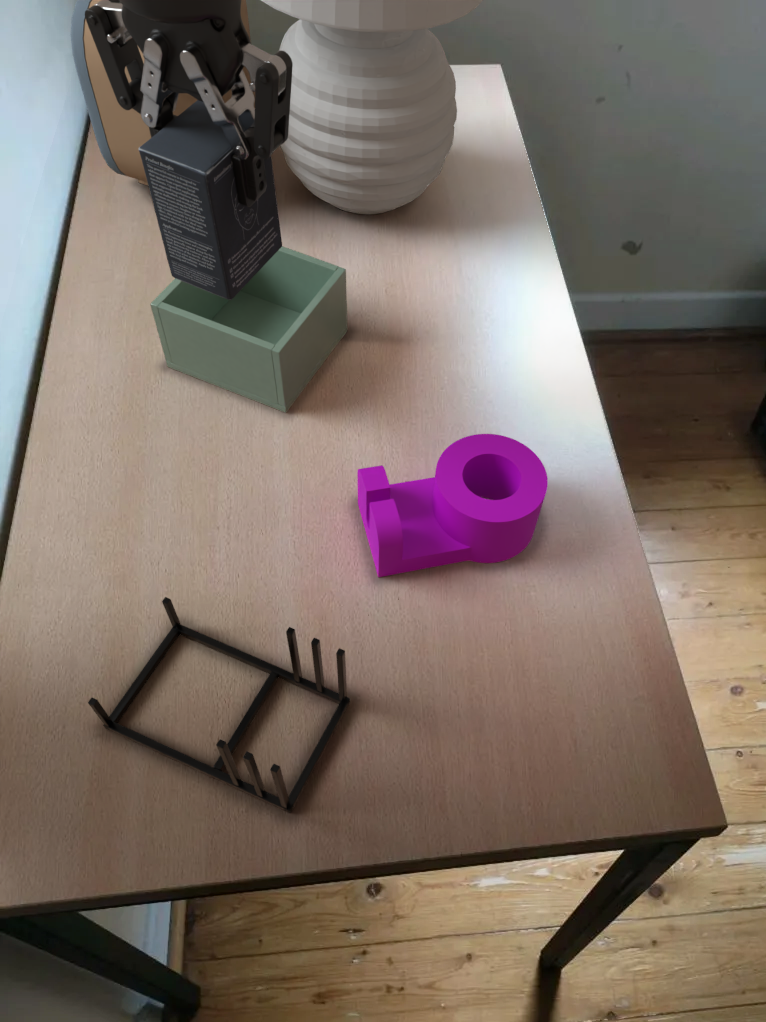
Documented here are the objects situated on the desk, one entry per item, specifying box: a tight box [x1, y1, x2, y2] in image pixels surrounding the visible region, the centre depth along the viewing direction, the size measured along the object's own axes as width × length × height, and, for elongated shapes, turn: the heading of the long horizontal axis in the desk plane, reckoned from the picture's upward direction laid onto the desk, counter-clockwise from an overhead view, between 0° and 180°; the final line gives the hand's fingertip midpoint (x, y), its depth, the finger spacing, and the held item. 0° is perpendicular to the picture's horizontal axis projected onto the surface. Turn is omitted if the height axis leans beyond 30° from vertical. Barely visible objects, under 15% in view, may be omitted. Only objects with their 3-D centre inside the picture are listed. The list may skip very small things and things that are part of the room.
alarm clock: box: [70, 0, 255, 186], centre depth 90 cm, size 21×10×22 cm, turn 162°
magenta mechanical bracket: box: [357, 433, 549, 578], centre depth 72 cm, size 16×10×6 cm, turn 106°
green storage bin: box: [149, 245, 348, 414], centre depth 81 cm, size 14×14×8 cm
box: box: [139, 100, 283, 300], centre depth 60 cm, size 8×6×11 cm
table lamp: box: [260, 0, 484, 215], centre depth 83 cm, size 25×25×40 cm
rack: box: [87, 596, 351, 814], centre depth 60 cm, size 16×10×9 cm, turn 67°
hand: (214, 185), depth 59 cm, fingers closed on box, 5 cm apart
